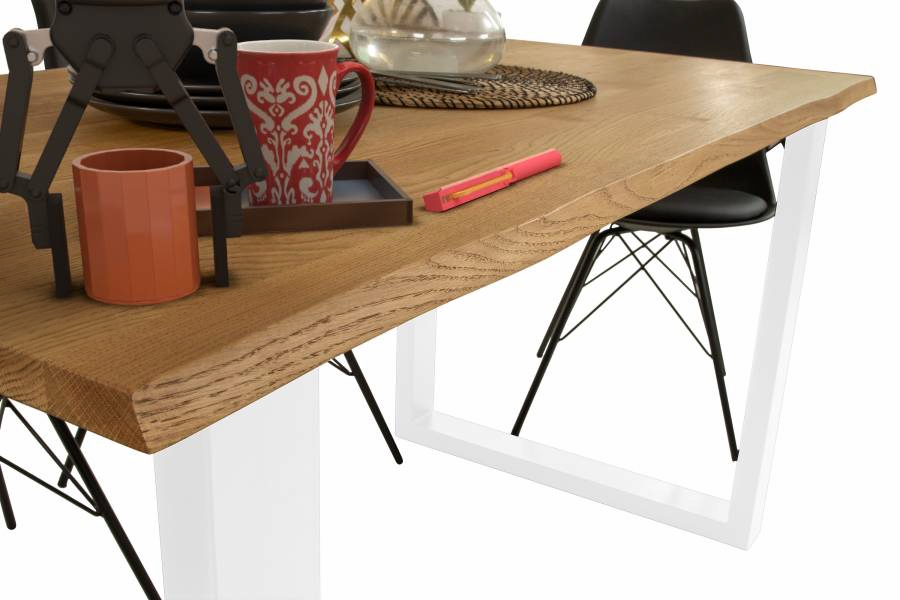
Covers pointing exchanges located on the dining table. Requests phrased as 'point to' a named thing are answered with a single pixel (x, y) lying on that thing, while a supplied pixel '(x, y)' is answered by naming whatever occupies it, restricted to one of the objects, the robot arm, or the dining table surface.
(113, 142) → the dining table surface
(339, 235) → the dining table surface
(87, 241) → the terracotta cup
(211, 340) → the dining table surface
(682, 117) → the dining table surface
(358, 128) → the mug
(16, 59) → the robot arm
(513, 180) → the pink highlighter pen
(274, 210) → the tray
